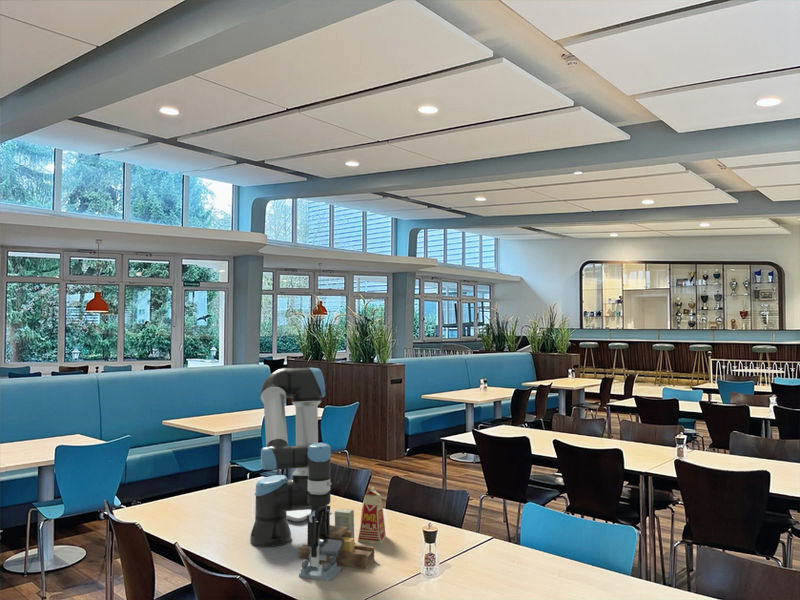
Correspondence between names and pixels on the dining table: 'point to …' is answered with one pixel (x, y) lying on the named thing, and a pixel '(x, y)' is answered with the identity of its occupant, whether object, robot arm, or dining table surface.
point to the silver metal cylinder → (329, 547)
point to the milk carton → (372, 519)
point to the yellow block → (347, 543)
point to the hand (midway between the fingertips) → (318, 562)
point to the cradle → (320, 570)
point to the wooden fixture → (356, 558)
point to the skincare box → (345, 519)
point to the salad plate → (298, 515)
